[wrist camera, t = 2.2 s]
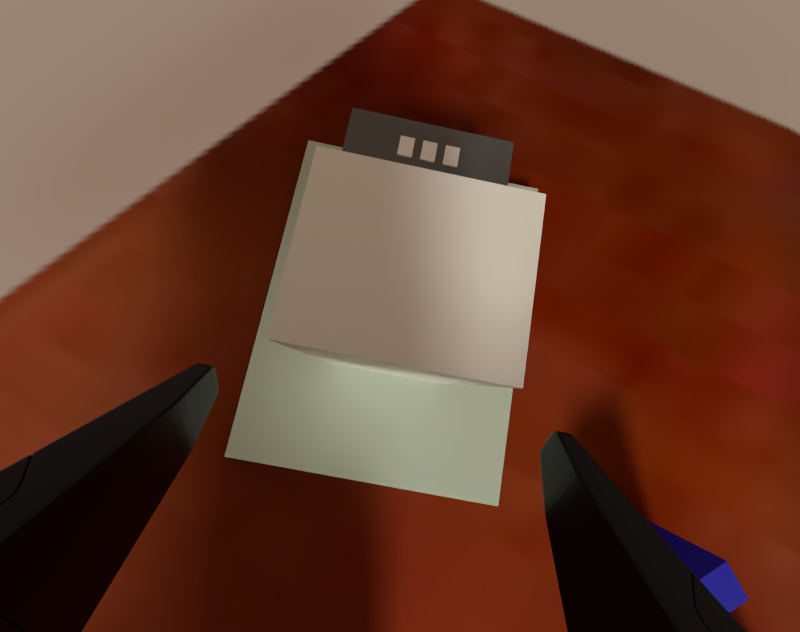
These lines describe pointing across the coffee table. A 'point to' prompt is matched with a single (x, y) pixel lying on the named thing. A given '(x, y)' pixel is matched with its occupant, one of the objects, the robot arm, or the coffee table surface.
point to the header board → (369, 390)
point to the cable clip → (707, 570)
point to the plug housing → (411, 272)
